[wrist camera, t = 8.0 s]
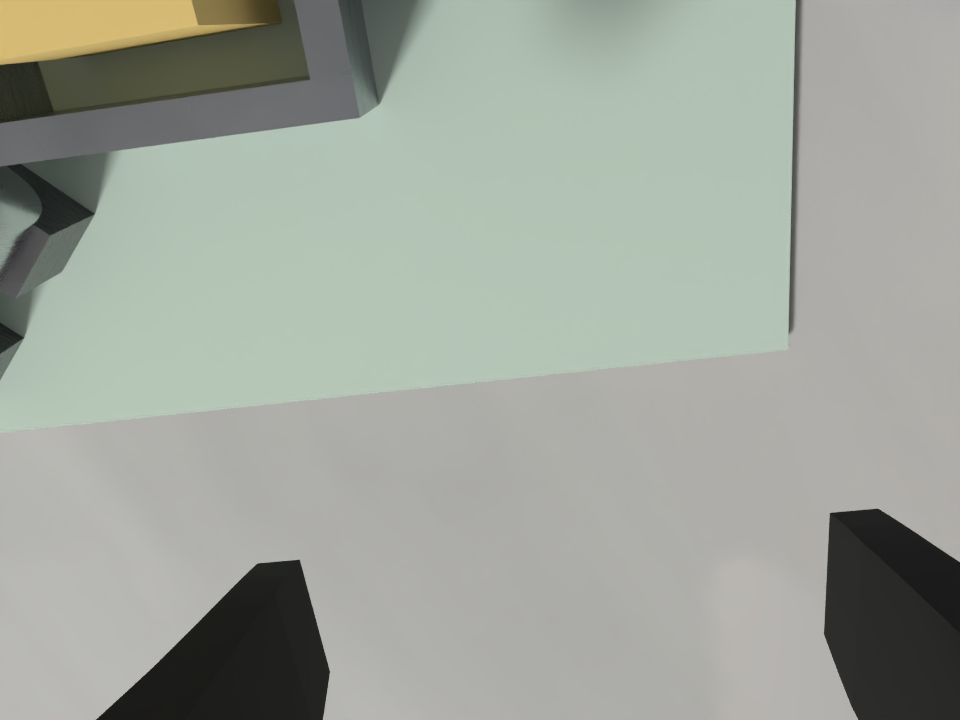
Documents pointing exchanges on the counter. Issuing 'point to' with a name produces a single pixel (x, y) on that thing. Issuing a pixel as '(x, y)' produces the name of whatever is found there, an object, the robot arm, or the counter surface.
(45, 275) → the shaft
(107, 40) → the yellow block
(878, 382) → the counter surface
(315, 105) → the frame
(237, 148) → the mat
